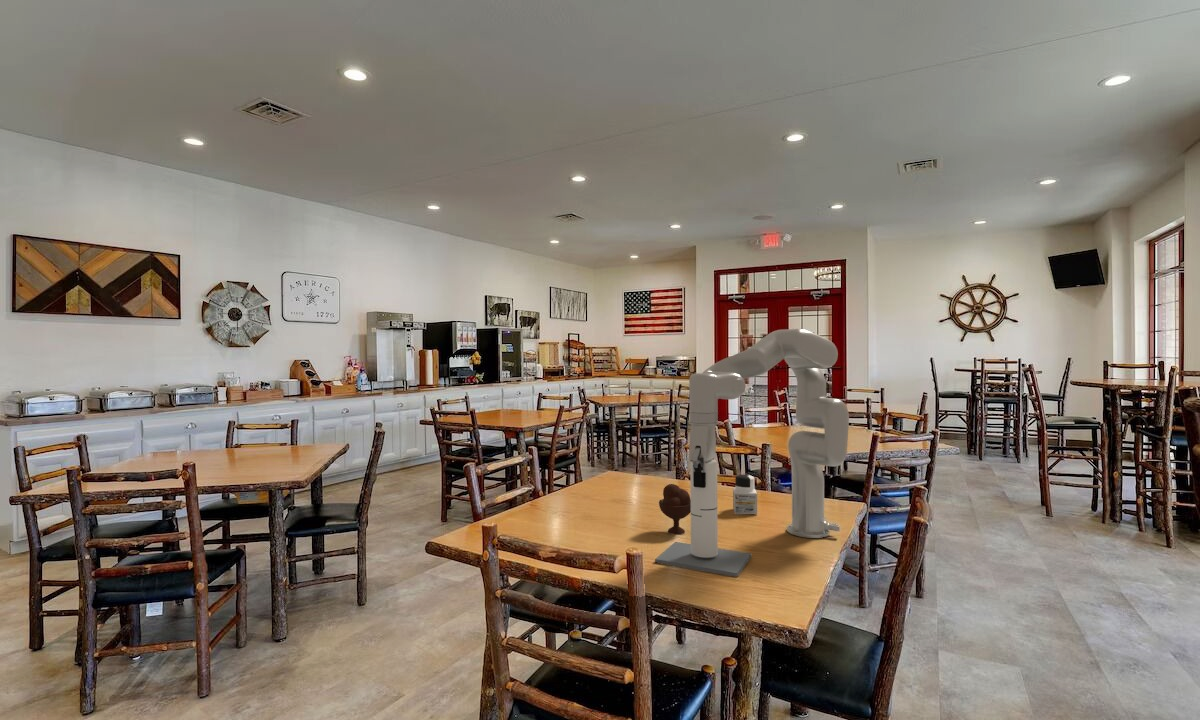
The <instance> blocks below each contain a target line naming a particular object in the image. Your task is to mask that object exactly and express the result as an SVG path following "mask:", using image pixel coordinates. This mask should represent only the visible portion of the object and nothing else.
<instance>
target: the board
mask: <svg viewBox="0 0 1200 720" xmlns="http://www.w3.org/2000/svg"><path fill="white" fill-rule="evenodd" d="M751 559H752V552H751V553H750V552H744V551H738V550H732V549H725V548H719V547H718V554H717V555H716V556H714V557H708V558H705V557H698V556H694V555H693V554H691V543H688V542H680V541H674V542H673V543H672V544H670V546H668V547H667V548H666V549H665V550H664V551H663V552H662V553H660V554H659V555H658V556H657V557H656V558H654V563H655V562H657V563H656V564H659V563H662V564H661V565H665V564H666V566H671V565H672V566H671V567H676V566H677V568H682V569H683V568H684V569H688V570H693V571H694V570H695V571H700V572H704V573H705V572H706V573H710V572H711V574H718V575H723V576H728V577H734V578H738V577H739V576H740V574H741V573H742V571H743V570H744V568H746V565H747V564H748V563H749V561H750V560H751Z"/></svg>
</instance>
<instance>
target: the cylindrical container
mask: <svg viewBox="0 0 1200 720" xmlns="http://www.w3.org/2000/svg"><path fill="white" fill-rule="evenodd" d="M699 460H702V459H699ZM689 461H690V460H689ZM702 461H703V460H702ZM689 464H690V465H689V466H690V469H689V470H690V475H689V476H690V477H689V478H690V483H689V484H690V500H691V512H690V544H691V554H693V555H694V556H698V557H705V558H708V557H714V556H716V555H717V554H718V548H719V547H718V545H719V544H718V543H719V542H718V541H719V540H718V539H719V538H718V535H719V534H718V461H717V460H716V459H714V460H713V459H711V460H709V461H708V462H706V463H705V470H704V472H705V473H706V487H705V488H700V487H694V486H693V461H690V463H689ZM699 464H701V467H702V463H699Z"/></svg>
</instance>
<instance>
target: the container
mask: <svg viewBox="0 0 1200 720" xmlns="http://www.w3.org/2000/svg"><path fill="white" fill-rule="evenodd" d="M732 489H733V491H732V497H733V499H732V504H733V506H732V507H733V513H734V514H735V515H742V514H757V515H758V493H757V491H756V488H755V477H754V476H752V475H750V474H738V475H736V476H735V487H733V488H732Z"/></svg>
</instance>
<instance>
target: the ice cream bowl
mask: <svg viewBox="0 0 1200 720" xmlns="http://www.w3.org/2000/svg"><path fill="white" fill-rule="evenodd" d="M662 491H663V492H662V496H663V499H659V501H658V506H659V509H660V511H661V512H662V513H663V515H664V516H666V517H667V518H669V519H671V520H672V522H673V526H671V527H670V528H668V530H667V533H668V534H670V535H675V536H676V535H677V536H678V535H683V534H685V533H686V531H685V529H684V528H682V527H680V520H682V519H685V518H686V517H688V516H689V515H691V494H690V493H689V492H688V491H687V490H685V489H684V488H681V487H680V486H679V485H677V484H675V483H670V484H667V485H665V486H664V488H663V490H662Z"/></svg>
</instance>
